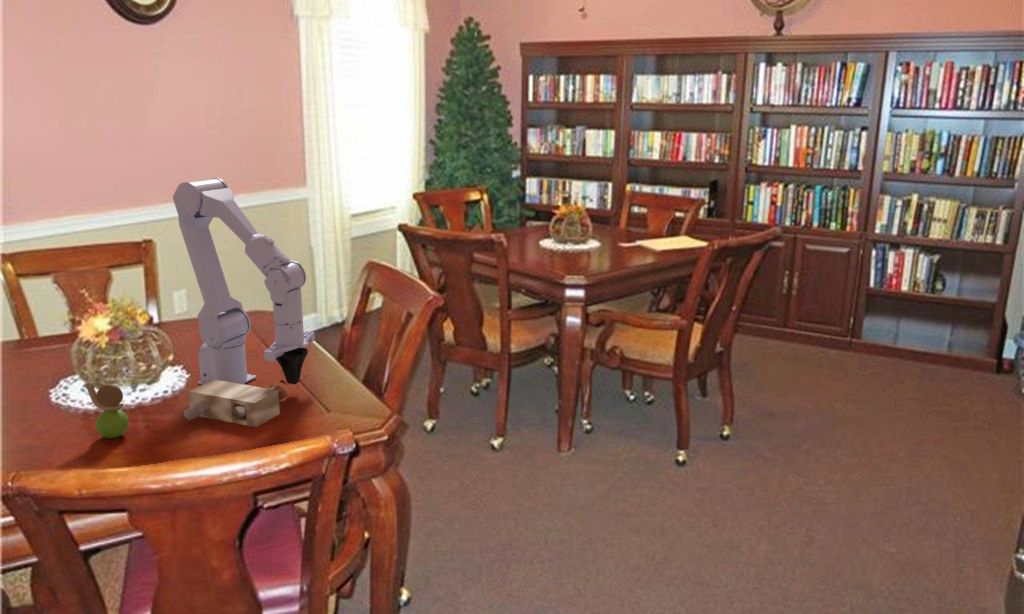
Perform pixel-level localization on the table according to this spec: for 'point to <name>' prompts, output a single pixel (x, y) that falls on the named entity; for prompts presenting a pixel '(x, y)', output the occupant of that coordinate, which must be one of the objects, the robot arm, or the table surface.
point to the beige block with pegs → (232, 402)
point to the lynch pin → (276, 385)
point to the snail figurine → (109, 410)
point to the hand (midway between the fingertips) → (293, 382)
